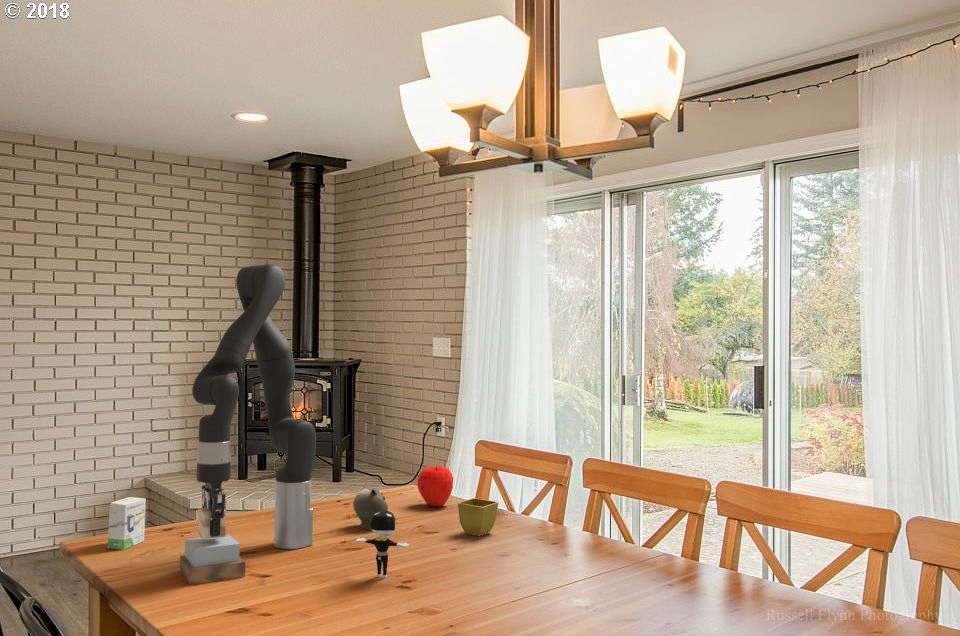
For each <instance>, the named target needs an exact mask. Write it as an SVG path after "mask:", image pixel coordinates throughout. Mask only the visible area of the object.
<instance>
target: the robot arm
mask: <svg viewBox="0 0 960 636" xmlns="http://www.w3.org/2000/svg"><path fill="white" fill-rule="evenodd" d="M285 286H286V276H285V273H284V271H283V270H282V269H281V267H280V266H278V265H276V264H272V263H270V264H269V263H268V264H260V265H259V264H258V265H249V266H244V267H241V268H240V270H239V271H238V272H237V275H236V287H237V288H236V289H237V293H238V297H239V300H240V303H241V306H242V309H243V312H242V314H240V315H239V316H238V318H236V320H235V321H234V322H232V323H231V324H230V325H229V327H228V328H227V329H226V331H225V332H224V334H223V336H222V337H221V338H220V339H221V340H220V342H219V344H218V346H217V348H216V351H215V353H214V355H213V356H212V358H211V359H210V360H209V361H208V362H207V363H206V365H204V367H203V368H202V369H201V370H200V372H199V373H198V374H197V376H196V378H195V379H194V381H193V384H192V389H191V390H192V391H191V392H192V396H193V398H194V400H195V401H196V402H197V403H198V404H202V405H207V406H208V405H210V406H211V405H213V406H215V407H214V409H213V412H212V414H207V415H204V416H201V418H200V420H199V424H198V444H197V451H196V452H197V453H196V481H197V482H198V483H203V485H201V502H202V503H201V506H202V507H201V508H207V510H208V511H209V512H210V517H209V519H210V536H211V537H215V536H219V535H220V521H221V519H222V518H224V509H225V507H226V506H225V505H226V493H225V492H224V490H225V489H224V488H223V487H222V483H223V482H228V481H230V480H231V474H232V473H231V471H232V470H231V469H232V468H231V467H232V446H231V432H232V431H231V428H232V427H231V423H232V420H233V417H234V413H235V409H236V406H237V403H238V400H239V396H240V386H239V384H238V381H237V380H236V378H235V377H234V376H231V374H235V373H237V372H239V371H240V370H241V369H242V368H243V366H244V364H245V362H246V359H247V357H248V354H249V352H250V350H251V347H252V345H253V348H254V354H255V359H256V363H257V364H256V365H257V368H258V373H259V376H260V381H261V384H262V385H261V386H262V389H263V390H262V391H263V396H264V400H265V406H266V413H267V422H268V429H269V431H268V432H269V437H270V442H271V444H272V447H274V449H275V450H276V451H277V452H280V453H283V454H286V462H285V463H284V464H285V465H283V466H281V467H279V468H277V470H276V471H275V488H274V489H275V495H274V498H275V499H274V500H275V501H274V502H275V503H274V532H273V533H274V536H273V544H274V545H273V546H274V547H275V548H278V549H283V550H296V549H302V548H306V547H308V546H313V532H314V531H313V530H314V529H313V528H314V509H313V507H311V502H312V499H311V497H312V475H313V471H314V468H315V464H316V449H317V432H316V429H315V427H314V425H313V424H312V423H311V422H310V421H307V420H302V419H295V417H294V413H293V410H292V405H291V392H292V388H293V386H294V385H293V384H294V380H295V377H296V376H295V375H296V365H295V360H294V355H293V350H292V347H291V345H290V343H289V341H288V339H287V338H286V337H285V335H284V334H283V333H282V332H281V330H280V329H279V328H278V327H277V325H276V324H275V323H274V321H273V320H272V318H271V316H270V314H271V312H273V311H272V310H273V309H274V308H275V306H276V304H277V303H278V302H279V300H280V298H281V296H282V295H283V293H284V291H285V288H286V287H285ZM216 510H218V511H219V513H217V514H215V511H216Z"/></svg>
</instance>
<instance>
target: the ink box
mask: <svg viewBox="0 0 960 636" xmlns="http://www.w3.org/2000/svg"><path fill="white" fill-rule="evenodd" d="M146 499H147V498H143V497H142V498H141V497H137V496H136V497H135V496H128V497H125V498H121V499H118V500H115V501H112V502H111V503H110V504H109V512H108V513H109V514H108V515H109V516H108V518H109V519H108V531H107V533H108V534H107V549H110V548H111V550H120V551H121V550H123V551H125V550H126V549H129V548H131V547H133V546H136V545H139V544H140V543H142V542H144V541H145V524H146V501H147V500H146Z"/></svg>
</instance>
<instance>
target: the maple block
mask: <svg viewBox="0 0 960 636" xmlns="http://www.w3.org/2000/svg"><path fill="white" fill-rule="evenodd" d="M217 513H219V511H218V510H216V511H215V514H217ZM209 517H210V512H209V511H208V510H207V508H202V507H200V508H198V531H197V532H198V533H197V534H198V536H199V537H201V538H202V539H209V538H217V537H225V534H227V533H226V528H227V524H226V521H227V510H226V509H225V508H224V518H222V519H221V521H220V535H219V536H215V537H211V536H210V519H209Z"/></svg>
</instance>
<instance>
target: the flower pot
mask: <svg viewBox="0 0 960 636" xmlns="http://www.w3.org/2000/svg"><path fill="white" fill-rule="evenodd" d="M498 507H499V502H498V501H495V500H489V499H481V498H476V497H472V498H469V499H465V500H463V501H459V502H457V508H458V519H459V523H460V526H461V528H462V530H463V532H464V533H465V534H466V533H469V534H468V535H471V534H474V535H473V536H476V535H482V536H484V535H483V534H485V533H487V534H489V533H490V532H491V530H492V529H493V527H494V525H495V523H496V519H497V514H498V509H499V508H498ZM488 532H489V533H488ZM485 535H486V534H485Z"/></svg>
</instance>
